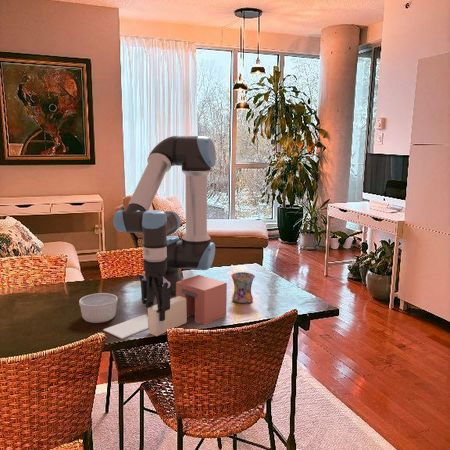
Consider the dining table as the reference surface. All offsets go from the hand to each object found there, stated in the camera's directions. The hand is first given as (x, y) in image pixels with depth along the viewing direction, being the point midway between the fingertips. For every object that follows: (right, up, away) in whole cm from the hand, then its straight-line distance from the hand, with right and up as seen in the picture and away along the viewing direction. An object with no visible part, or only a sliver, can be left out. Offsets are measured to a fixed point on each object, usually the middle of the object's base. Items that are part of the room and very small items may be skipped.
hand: (156, 327), depth 148 cm
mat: (-8, -1, +6) cm, 10 cm away
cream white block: (+4, -1, +5) cm, 6 cm away
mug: (+29, +3, +34) cm, 45 cm away
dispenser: (+14, +1, +17) cm, 22 cm away
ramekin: (-23, 0, +14) cm, 26 cm away
